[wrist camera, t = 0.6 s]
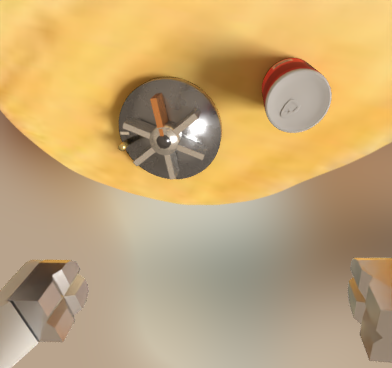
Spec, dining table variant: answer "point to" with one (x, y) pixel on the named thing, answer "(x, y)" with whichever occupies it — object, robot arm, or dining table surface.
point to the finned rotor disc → (165, 136)
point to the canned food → (295, 95)
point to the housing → (176, 111)
